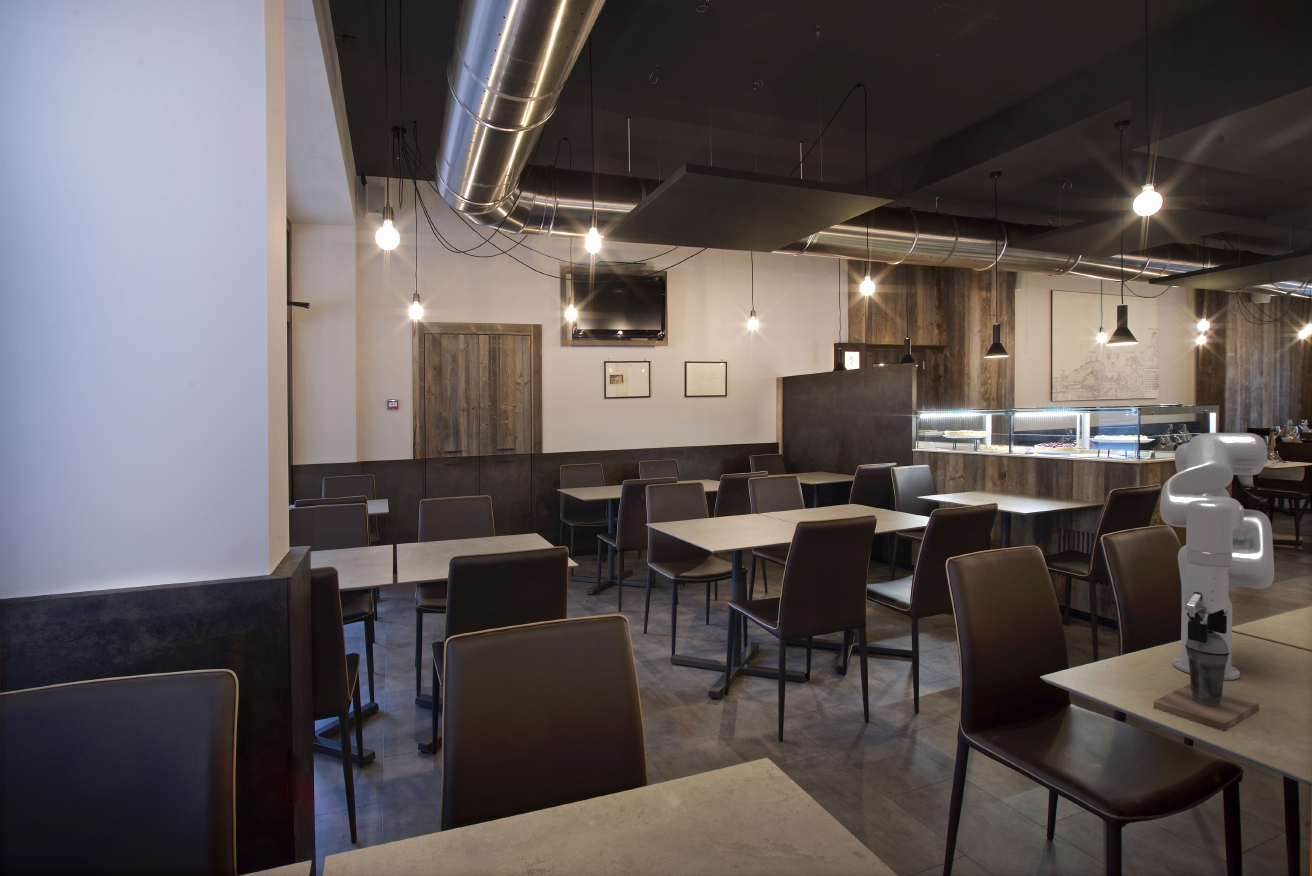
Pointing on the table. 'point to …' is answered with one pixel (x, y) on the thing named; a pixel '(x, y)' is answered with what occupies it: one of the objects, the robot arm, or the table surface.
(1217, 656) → the beverage cup
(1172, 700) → the serving board
